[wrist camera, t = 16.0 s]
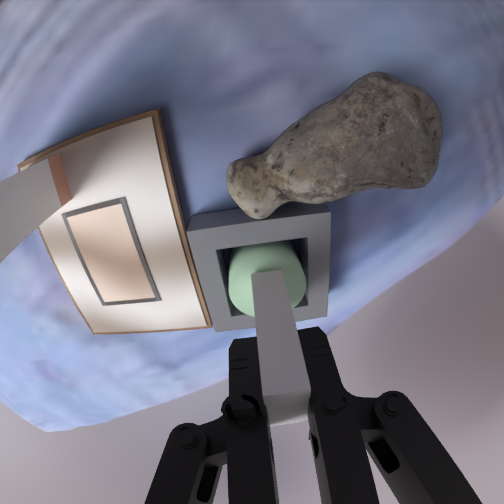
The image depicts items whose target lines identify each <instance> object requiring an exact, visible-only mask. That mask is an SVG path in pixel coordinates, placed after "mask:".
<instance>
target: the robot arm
mask: <svg viewBox="0 0 504 504" xmlns="http://www.w3.org/2000/svg"><path fill="white" fill-rule="evenodd" d="M251 282H252V292H253V302H254V313H255V323H256V333H257V337H249V338H241V339H234V340H233V342H232V344H231V346H230V348H229V396H228V397H227V398H226V399H225V401H224V402H223V404H222V408H221V411H222V413H223V415H222V416H221V417H220V418H218V419H216V420H214V421H211V422H208V423H205V424H202V425H199V426H198V425H196V424H194V423H184V424H180V425H178V426H177V427H175V428H174V429H173V430H172V432H171V433H170V435H169V438H168V440H167V443H166V446H165V448H164V451H163V454H162V457H161V459H160V462H159V465H158V468H157V470H156V473H155V476H154V479H153V481H152V484H151V487H150V490H149V492H148V495H147V498H146V501H145V504H212V503H213V499H214V496H215V492H216V489H217V485H218V481H219V478H220V474H221V470H222V466H223V465H224V464H227V470H228V497H229V504H279V498H278V490H277V481H276V472H275V463H274V455H273V446H272V439H271V432H270V426H275V425H283V424H290V423H296V422H302V421H307V420H309V426H310V430H309V440H310V439H311V444H312V450H313V456H314V461H315V467H316V473H317V478H318V484H319V490H320V496H321V502H322V504H379V500H378V495H377V491H376V487H375V483H374V479H373V475H372V471H371V467H370V463H369V460H368V456H367V453H366V450H367V451H368V453H369V454H370V456H371V458H372V459H373V461H374V463H375V464H376V466H377V468H378V469H379V471H380V472H381V474H382V476H383V477H384V479H385V481H386V482H387V484H388V485H389V487H390V489H391V490H392V492H393V493H394V495H395V497H396V498H397V500H398V502H399V503H400V504H482V502H481V501H480V499H479V498H478V496H477V495H476V493H475V492H474V490H473V489H472V487H471V486H470V484H469V483H468V481H467V480H466V478H465V477H464V475H463V474H462V472H461V471H460V470H459V468H458V467H457V465H456V464H455V462H454V461H453V459H452V458H451V457H450V455H449V454H448V452H447V451H446V449H445V448H444V446H443V445H442V444H441V442H440V441H439V440H438V438H437V437H436V435H435V434H434V433H433V432H432V430H431V428H430V427H429V426H428V425H427V423H426V422H425V421H424V419H423V418H422V417H421V415H420V414H419V412H418V411H417V410H416V408H415V407H414V406H413V404H412V403H411V402H410V400H409V399H408V398H407V397H406V396H405V395H404V394H403V393H401V392H398V391H388V392H385V393H383V394H382V395H381V396H379V397H378V398H365V397H356V396H354V395H352V394H350V393H349V392H347V391H346V389H345V388H344V387H343V385H342V382H341V379H340V376H339V373H338V369H337V366H336V363H335V360H334V357H333V355H332V351H331V348H330V346H329V342H328V339H327V336H326V334H325V333H324V332H323V331H322V330H321V329H320V328H319V327H312V328H306V329H300V330H297V328H296V324H295V320H294V316H293V312H292V308H291V304H290V300H289V296H288V292H287V288H286V284H285V280H284V277H283V273H282V270H275V271H268V272H261V273H253V274H251Z"/></svg>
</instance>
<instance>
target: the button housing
mask: <svg viewBox="0 0 504 504" xmlns="http://www.w3.org/2000/svg"><path fill="white" fill-rule="evenodd" d="M186 232H187V236H188V240H189V244H190V248H191V251H192V255H193V259H194V262H195V266H196V269H197V273H198V276H199V280H200V283H201V287H202V290H203V293H204V297H205V300H206V303H207V307H208V310H209V313H210V316H211V319H212V322H213V326H214V329H215V332H222V331H231V330H240V329H248V328H256V323H255V317H253V316H250V315H247V314H245V313H243V312H241V311H240V310H239V309H237V308H236V307H235V306H234V304H233V303H232V301H231V299H230V296H229V283H228V279H227V274H226V269H225V265H224V260H223V256H222V251H221V249H225V248H232V247H239V246H246V245H253V244H261V243H268V242H275V241H282V240H290V239H297V238H300V243H301V267H302V270H303V272H304V275H305V278H306V291H305V294H304V296H303V298H302V300H301V301H300V302H299V304H298V305H297V306H296V307H294V308H293V309H292V312H293V316H294V320H295V322H297V321H303V320H309V319H315V318H320V317H326V316H327V308H328V293H329V275H330V248H331V211H330V210H329V209H328V208H327V207H326V205H325V204H324V203H321V204H311V203H303V202H297V201H289V202H286V203H284V204H282V205H281V206H279V207H278V208H277V209H276V210H275V211H274V212H273V213H272V214H270V215H269V216H268V217H266V218H262V219H255V218H252V217H250V216H248V215H247V214H246V213H245V212H244V211H243V210H242V209H241V208H236V209H229V210H223V211H216V212H210V213H203V214H197V215H192V217H191V220H190V223H189V225H188V228H187V231H186Z"/></svg>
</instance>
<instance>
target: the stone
mask: <svg viewBox="0 0 504 504" xmlns="http://www.w3.org/2000/svg"><path fill="white" fill-rule="evenodd" d="M441 138H442V120H441V114H440V111H439V108H438V106H437V105H436V103H435V102H434V100H433V99H432V98H431V96H430V95H429V94H428V93H427V92H426V91H424V90H423V89H421V88H419V87H417V86H413V85H410V84H407V83H403V82H401V81H399V80H397V79H395V78H393V77H392V76H390V75H388V74H386V73H382V72H373V73H369V74H367V75H365V76H363V77H361V78H359V79H358V80H356V81H355V82H354V83H353V84H352V85H351V86H350V87H349V88H348V89H347V90H346V91H344V92H343V93H342V94H341V95H339V96H338V97H336V98H335V99H333V100H331V101H329V102H327V103H325V104H323V105H321V106H319V107H317V108H316V109H314V110H312V111H311V112H309V113H308V114H307V115H305V116H304V117H302V118H301V119H299V120H298V121H297V122H295V123H293V124H292V125H291V126H289V127H288V128H287V129H286V130H285V131H284V132H283V133H282V134H281V135H280V136H279V137H278V138H277V139H276V140H275V141H274V143H273V144H272V145H271V147H270V148H269V149H268V150H267V151H265V152H264V153H262V154H260V155H256V156H252V157H247V158H241V159H238V160H236V161H233V162H232V163H231V164H230V165H229V167H228V169H227V174H226V180H227V187H228V191H229V193H230V195H231V197H232V198H233V200H234V201H235V202H236V203H237V205H238V206H239V207H240V208H241V209H242V210H243V211H244V212H245V213H246V214H247V215H248V216H250V217H252V218H255V219H262V218H266V217H268V216H269V215H270V214H272V213H273V212H274V211H275V210H276V209H277V208H278V207H279V206H281V205H282V204H284V203H286V202H289V201H297V202H303V203H311V204H321V203H326V202H331V201H334V200H337V199H342V198H345V197H347V196H349V195H351V194H354V193H356V192H359V191H364V190H368V189H373V188H394V187H396V188H403V189H415V188H421V187H424V186H426V185H427V184H428V183H429V181H430V180H431V179H432V177H433V175H434V173H435V172H436V170H437V166H438V161H439V152H440V143H441Z"/></svg>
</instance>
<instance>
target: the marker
mask: <svg viewBox="0 0 504 504" xmlns="http://www.w3.org/2000/svg"><path fill="white" fill-rule="evenodd" d="M70 200H72V196H71V193H70V190H69V186H68V183H67V180H66V176H65V173H64V169H63V165H62V162H61V158H60V154H59V153H58V154H56V155H54V156H51V157H49V158H47V159H45V160H43V161H40V162H38V163H36V164H34V165H32V166H30V167H28V168H26V169H24V170H22V171H20V172H18V173H16V174H14V175H13V176H11V177H9V178H7V179H5V180H3V181H2V182H0V263H1V262H2V261H3V260H4V259H5V258H6V257H7V256H8V255H9V254H10V253H11V252H12V251H13V250H14V249H15V248H16V247H17V246H18V245H19V244H20V243H21V242H22V241H23V240H24V239H25V238H26V237H27V236H28V235H30V234H31V233H32V232H33V231H34V230H35V229H36V228H37V227H39V226H40V225H41V224H42V223H43V222H44V221H45V220H47V219H48V218H49V217H50V216H51V215H53V214H54V213H55V212H56V211H58V210H59V209H60V208H61V207H63V206H64V205H65V204H66V203H68V202H69V201H70Z"/></svg>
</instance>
